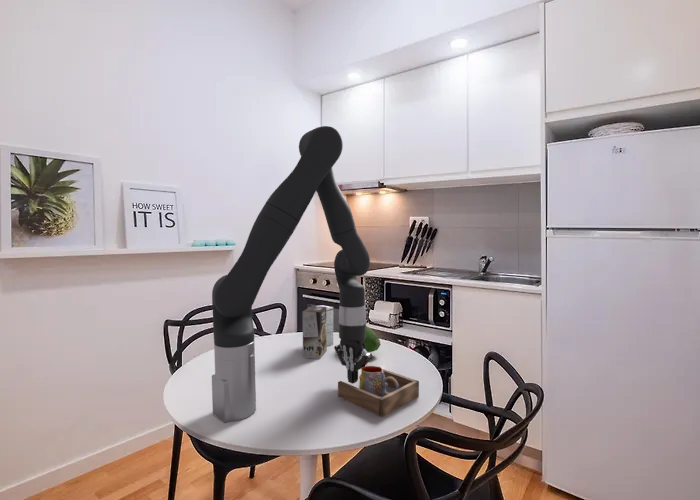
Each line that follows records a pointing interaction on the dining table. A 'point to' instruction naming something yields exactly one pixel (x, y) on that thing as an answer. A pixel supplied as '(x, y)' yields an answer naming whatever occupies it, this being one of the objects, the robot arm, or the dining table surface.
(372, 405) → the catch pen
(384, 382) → the mug
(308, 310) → the coffee box
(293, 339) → the dining table surface
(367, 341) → the fruit
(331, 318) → the syrup box
